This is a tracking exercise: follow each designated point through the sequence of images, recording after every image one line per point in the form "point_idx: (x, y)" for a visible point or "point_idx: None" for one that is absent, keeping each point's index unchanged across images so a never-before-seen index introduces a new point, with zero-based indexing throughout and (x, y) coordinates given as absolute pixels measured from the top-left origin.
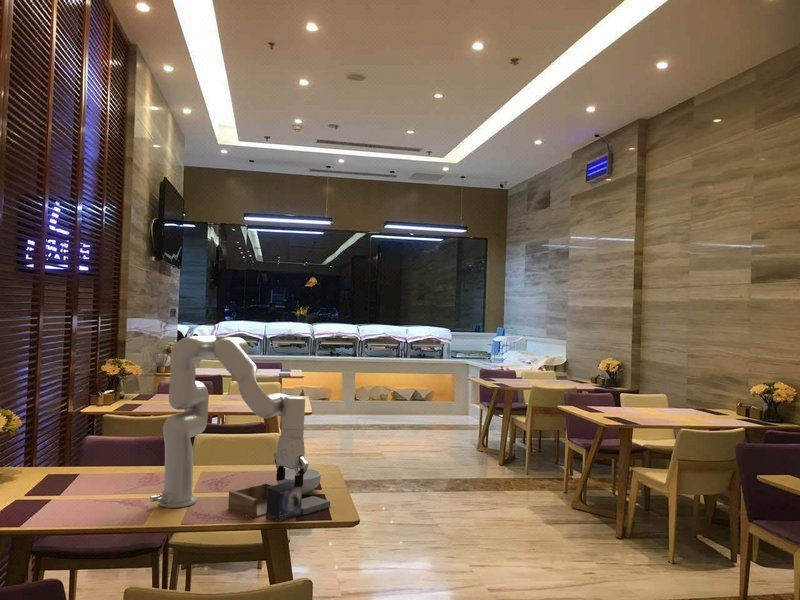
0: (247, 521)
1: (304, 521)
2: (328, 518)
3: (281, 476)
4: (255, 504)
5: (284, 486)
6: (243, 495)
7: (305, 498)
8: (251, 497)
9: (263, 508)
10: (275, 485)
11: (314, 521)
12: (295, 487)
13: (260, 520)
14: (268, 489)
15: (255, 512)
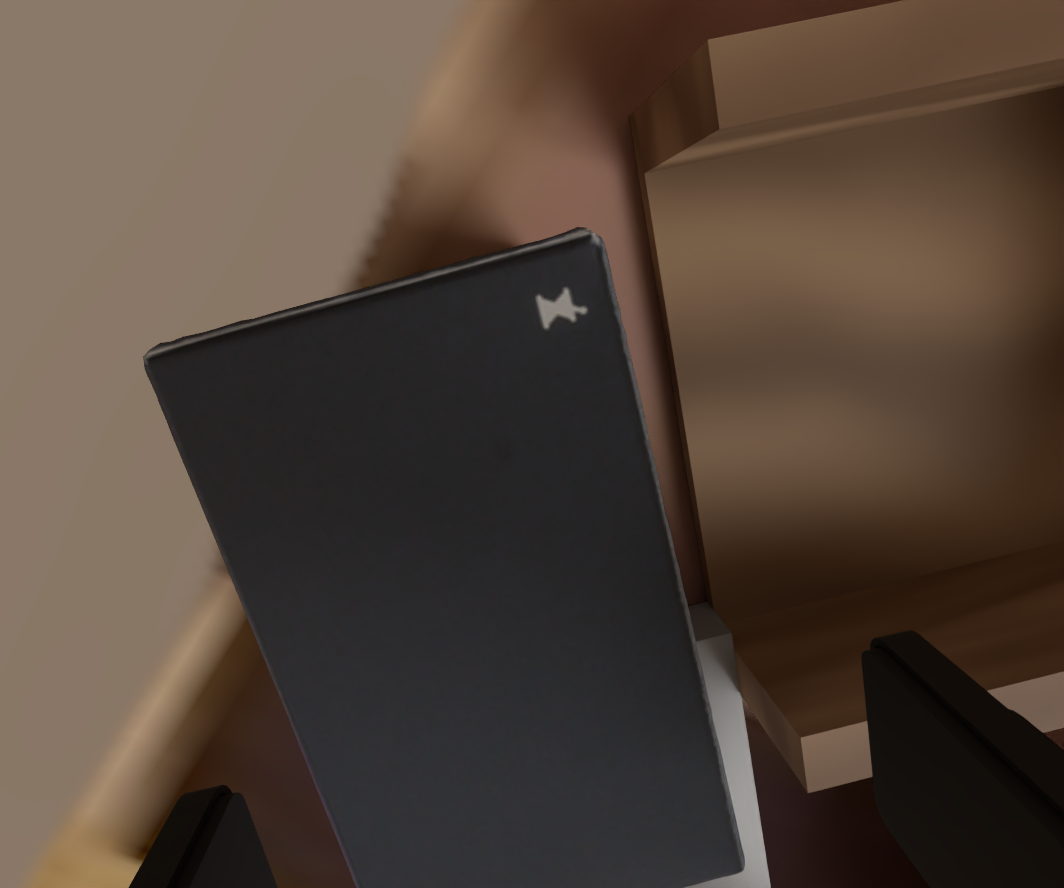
0: (566, 4)
1: (206, 595)
2: None
3: (917, 788)
4: (686, 112)
5: (428, 619)
6: (1061, 7)
7: (756, 867)
8: (871, 84)
9: (835, 361)
10: (620, 472)
11: (152, 685)
12: (326, 807)
13: (511, 169)
14: (533, 242)
15: (652, 142)
